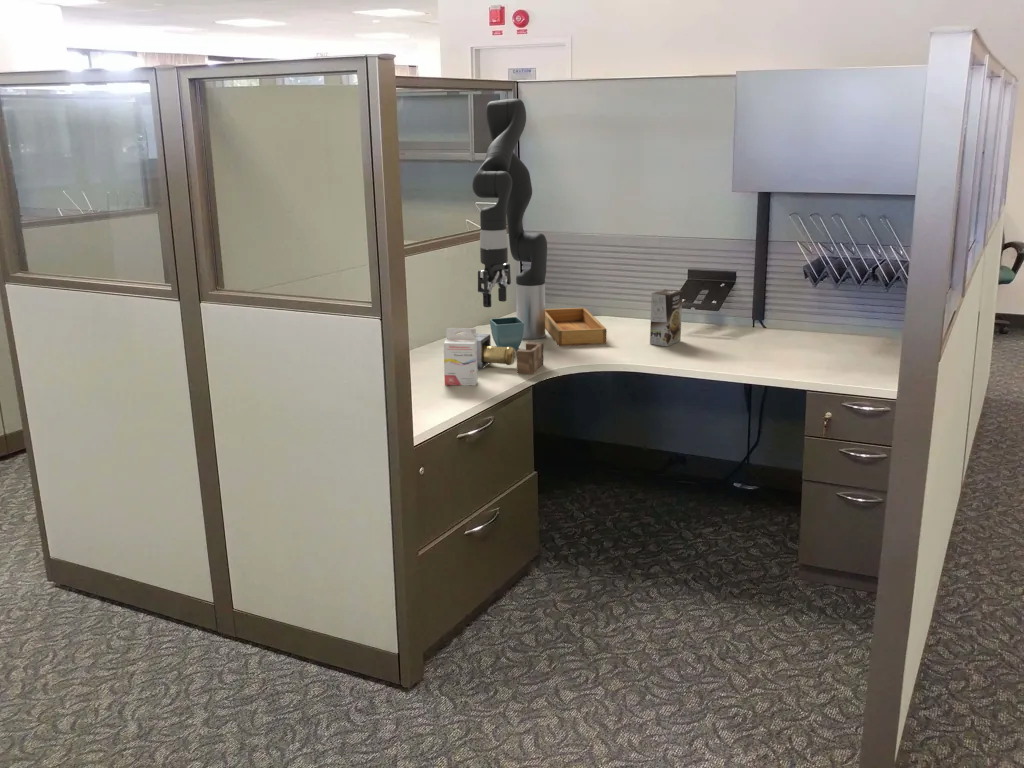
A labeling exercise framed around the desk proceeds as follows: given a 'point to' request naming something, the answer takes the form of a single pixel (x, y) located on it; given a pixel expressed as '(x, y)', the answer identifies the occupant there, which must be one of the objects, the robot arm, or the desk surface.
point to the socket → (530, 358)
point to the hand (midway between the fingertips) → (495, 304)
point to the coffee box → (666, 317)
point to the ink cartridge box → (460, 357)
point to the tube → (498, 355)
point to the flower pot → (507, 332)
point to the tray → (574, 327)
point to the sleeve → (481, 340)
